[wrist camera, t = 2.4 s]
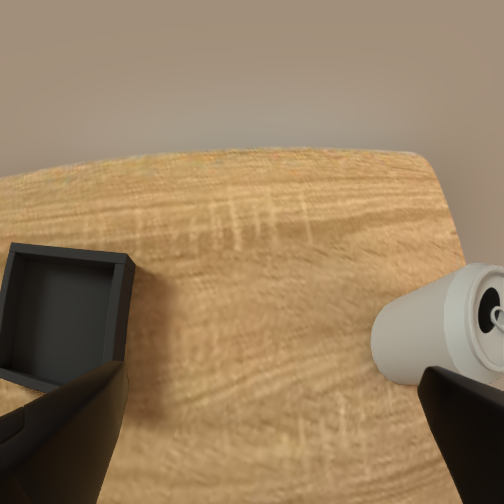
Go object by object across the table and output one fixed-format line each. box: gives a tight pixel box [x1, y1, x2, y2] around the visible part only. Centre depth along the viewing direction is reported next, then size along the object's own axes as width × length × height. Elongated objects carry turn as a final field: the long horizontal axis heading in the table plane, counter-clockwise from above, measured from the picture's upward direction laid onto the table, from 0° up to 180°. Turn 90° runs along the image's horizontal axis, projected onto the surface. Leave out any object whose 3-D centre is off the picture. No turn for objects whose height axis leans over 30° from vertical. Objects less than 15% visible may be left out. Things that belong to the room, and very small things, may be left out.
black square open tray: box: [0, 242, 135, 393], centre depth 21 cm, size 11×11×3 cm
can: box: [370, 262, 504, 385], centre depth 19 cm, size 8×8×12 cm
